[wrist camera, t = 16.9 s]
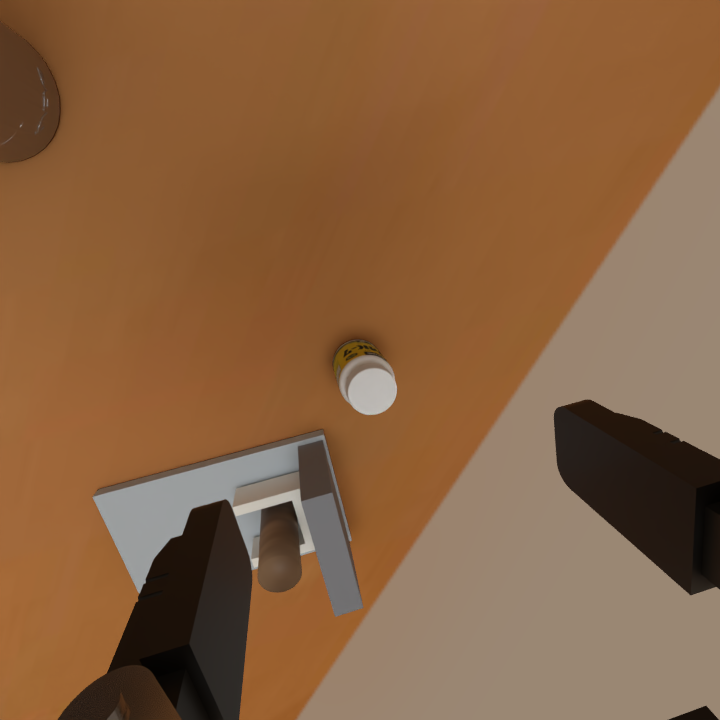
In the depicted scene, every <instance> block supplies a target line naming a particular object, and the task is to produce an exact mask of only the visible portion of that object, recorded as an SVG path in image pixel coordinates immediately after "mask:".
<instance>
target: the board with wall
mask: <svg viewBox="0 0 720 720" xmlns="http://www.w3.org/2000/svg"><path fill="white" fill-rule="evenodd" d="M298 471H299V479H300V496H301V504H302V507H303V510H304V514H305V517H306V520H307V524H308V527H309V531H310V534H311V537H312V541H313V544H314V547H315V550H312V551H309V552H305V553H302V554H300V556H301V555H305V554H308V553H311V552H315V551H316V554H317V557H318V561H319V564H320V567H321V571H322V574H323V577H324V581H325V584H326V587H327V591H328V594H329V597H330V601H331V604H332V607H333V611H334V614H335V617H336V616H339V615H342V614H345V613H348V612H351V611H355V610H358V609H361V608H363V604H362V599H361V595H360V590H359V585H358V580H357V576H356V571H355V566H354V561H353V557H352V552H351V547H350V542H349V541H352V540H351V535H350V531H349V527H348V523H347V519H346V516H345V512H344V508H343V504H342V500H341V497H340V493H339V489H338V485H337V481H336V477H335V474H334V470H333V466H332V462H331V458H330V455H329V451H328V447H327V443H326V439H325V436H324V432H323V429H322V430H318V431H315V432H311V433H307V434H303V435H300V436H296V437H292V438H288V439H285V440H281V441H277V442H273V443H270V444H266V445H262V446H259V447H255V448H251V449H247V450H244V451H240V452H236V453H232V454H229V455H225V456H221V457H217V458H214V459H210V460H206V461H203V462H199V463H195V464H191V465H188V466H184V467H180V468H176V469H173V470H169V471H165V472H161V473H158V474H154V475H150V476H147V477H143V478H139V479H135V480H132V481H128V482H124V483H120V484H117V485H113V486H109V487H105V488H102V489H98V490H97V492H96V493H95V494H94V496H93V499H94V501H95V503H96V505H97V507H98V509H99V511H100V513H101V515H102V517H103V520H104V522H105V524H106V526H107V528H108V530H109V532H110V534H111V536H112V538H113V540H114V542H115V544H116V547H117V549H118V551H119V553H120V555H121V557H122V559H123V561H124V563H125V565H126V567H127V569H128V571H129V573H130V576H131V578H132V580H133V582H134V584H135V586H136V588H137V590H138V592H139V594H140V591H141V589H142V587H143V584H145V583H146V580H145V579H146V577H147V574H148V572H149V569H150V567H151V565H152V562H153V560H154V558H155V557H156V556H157V554H158V553H159V552H160V551H161V550H162V548H163V547H164V546H165V545H166V544H167V542H168V541H169V540H170V539H171V538H174V537H177V536H181V535H182V534H183V531H184V528H185V525H186V522H187V519H188V517H189V514H190V511H191V510H192V509H193V508H196V507H199V506H203V505H206V504H210V503H214V502H217V501H221V500H224V499H226V500H228V501H229V503H230V504H231V507H232V506H233V501H234V496H235V491H236V488H240V487H244V486H247V485H251V484H255V483H258V482H262V481H265V480H269V479H273V478H276V477H280V476H283V475H287V474H291V473H294V472H298ZM232 509H233V508H232ZM233 512H234V511H233ZM234 515H235V514H234ZM235 517H236V520H237V523H238V526H239V529H240V531H241V534H242V537H243V540H244V542H245V545H246V548H247V551H248V554H249V557H250V562H251V568H252V570H254V569H257V568H258V567H255V568H254V566H253V563H252V561H251V556H252V547H253V538H255V537H259V536H260V523H261V509H260V510H257V511H253V512H250V513H246V514H243V515H239V516H235ZM298 525H299V521H298Z"/></svg>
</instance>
